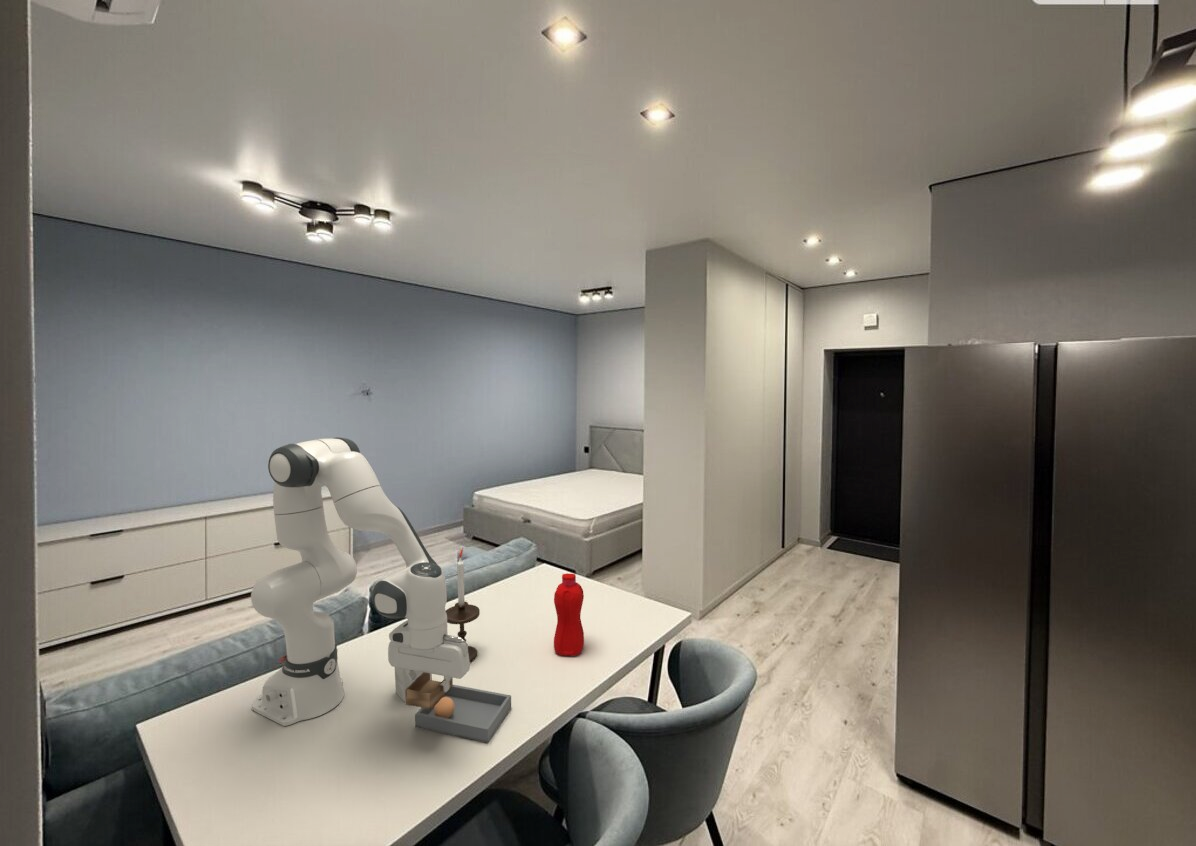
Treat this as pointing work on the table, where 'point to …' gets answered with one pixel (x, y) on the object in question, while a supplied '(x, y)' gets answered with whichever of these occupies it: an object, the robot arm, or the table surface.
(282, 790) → the table surface
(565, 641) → the water bottle
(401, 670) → the skincare box
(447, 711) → the ball
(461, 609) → the candlestick
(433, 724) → the tray
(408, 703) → the small wooden box
